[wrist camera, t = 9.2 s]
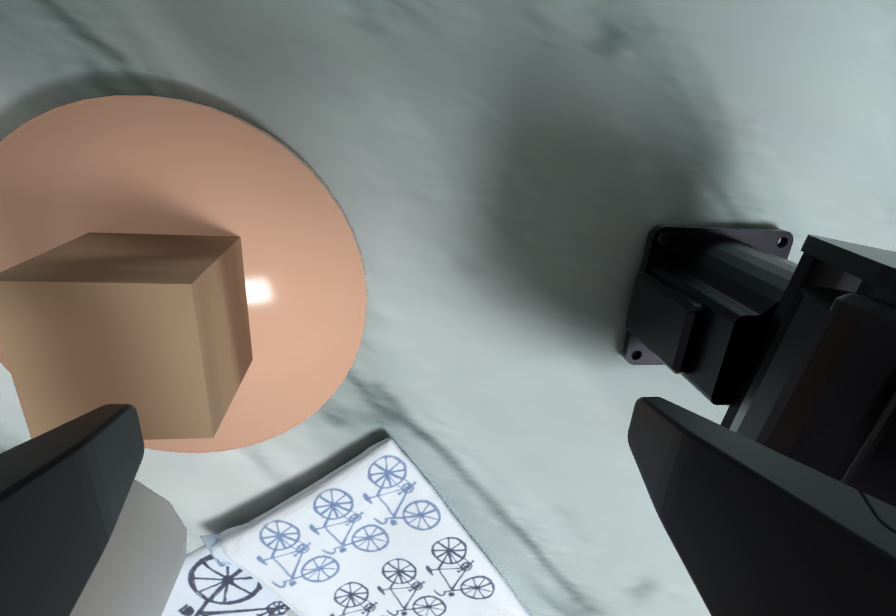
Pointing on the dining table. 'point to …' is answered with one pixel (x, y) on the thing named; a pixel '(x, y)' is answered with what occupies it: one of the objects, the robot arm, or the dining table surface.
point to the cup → (137, 560)
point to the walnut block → (129, 330)
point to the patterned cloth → (347, 553)
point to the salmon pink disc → (201, 234)
